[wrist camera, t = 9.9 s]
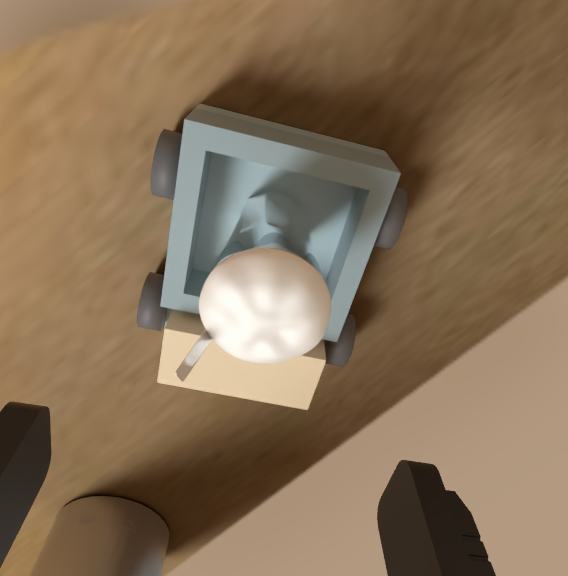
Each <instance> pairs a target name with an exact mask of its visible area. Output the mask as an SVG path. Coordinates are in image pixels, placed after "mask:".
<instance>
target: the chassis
mask: <svg viewBox="0 0 568 576" xmlns="http://www.w3.org/2000/svg"><path fill="white" fill-rule="evenodd" d="M400 175H401V173H400V171H399V170H398V168H397V167H396V166H395V164H394V163H393V161H392V160H391V159H390V157H389V156H388V154H387V153H386V152H385V151H384V150H381V149H377V148H373V147H369V146H365V145H361V144H357V143H353V142H349V141H345V140H341V139H338V138H334V137H330V136H326V135H322V134H318V133H314V132H310V131H306V130H302V129H298V128H295V127H291V126H287V125H283V124H279V123H275V122H271V121H267V120H263V119H259V118H255V117H252V116H248V115H244V114H240V113H236V112H232V111H228V110H224V109H220V108H216V107H212V106H209V105H205V104H201V103H199V105H198V106H197V107H196V108H195V109H194V110H193V111H192V112H191V113H190V114H189V115H188V116H187V117H186V118H185V119H184V126H183V134H182V133H178V132H174V131H170V130H166V129H164V130H163V131H162V132H161V134H160V137H159V139H158V142H157V146H156V149H155V154H154V159H153V165H152V172H151V191H152V194H153V195H154V196H158V197H163V198H167V199H171V200H174V203H173V211H172V219H171V227H170V234H169V242H168V250H167V258H166V265H165V273H164V275H162V274H157V273H152V272H150V273H149V274H148V276H147V278H146V280H145V283H144V286H143V289H142V293H141V297H140V301H139V306H138V313H137V326H138V327H142V328H147V329H153V330H158V331H162V330H163V328H164V325H165V330H164V337H163V344H162V352H161V359H160V366H159V373H158V380H157V383H162V384H168V385H173V386H179V387H184V388H190V389H195V390H201V391H206V392H212V393H217V394H222V395H228V396H233V397H239V398H244V399H250V400H255V401H261V402H266V403H272V404H277V405H283V406H288V407H294V408H299V409H304V410H308V408H309V405H310V402H311V400H312V397H313V394H314V392H315V389H316V386H317V384H318V381H319V378H320V376H321V373H322V370H323V368H324V365H325V363H326V364H331V365H336V366H341V367H344V366H345V365H346V364H347V362H348V360H349V358H350V356H351V353H352V350H353V346H354V341H355V333H356V321H355V317H354V315H352V314H348V312H349V309H350V307H351V304H352V301H353V299H354V296H355V293H356V291H357V288H358V285H359V283H360V280H361V278H362V275H363V272H364V270H365V267H366V264H367V262H368V259H369V256H370V254H371V251H372V249H373V246H376V247H380V248H385V249H390V248H391V247H392V246H393V245H394V244H395V242H396V241H397V239H398V237H399V235H400V233H401V230H402V228H403V225H404V221H405V217H406V213H407V206H408V195H407V191H406V190H405V189H404V188H401V187H397V186H396V185H397V183H398V180H399V177H400ZM266 190H269V191H275V192H280V193H286V194H288V195H289V196H290V197H291V198H292V199H293V200H294V201H295V202H296V203H297V204H298V205H299V206H300V207H301V208H302V210H303V213H304V216H305V220H306V223H307V227H308V230H309V234H310V237H311V241H312V244H313V248H314V251H315V254H316V257H317V260H318V263H319V265H320V268H321V271H322V274H323V276H324V279H325V282H326V285H327V288H328V290H329V294H330V297H331V315H330V319H329V323H328V326H327V329H326V332H325V334H324V336H323V338H322V339H321V341H320V342H319V343H318V344H317V345H316V346H315V347H314V348H313V349H311V350H310V351H308V352H307V353H305V354H303V355H300V356H298V357H295V358H292V359H289V360H285V361H282V362H278V363H271V364H263V363H254V362H248V361H244V360H240V359H238V358H235V357H233V356H232V355H230V354H228V353H227V352H226V351H224V350H223V349H222V348H221V347H220V346H218V345H217V344H216V343H215V341H214V340H213V339H212V340H211V342H210V343H209V345H208V346H207V348H206V349H205V351H204V352H203V354H202V355H201V357H200V358H199V360H198V361H197V363H196V364H195V365H194V367H193V368H192V370H191V371H190V373H189V374H188V376H187V377H186V379H185V380H184V381H183V382H182V381H181V380H180V379H179V377H178V376H177V375H176V370H177V369H178V367H179V366H180V365H181V363H182V362H183V360H184V359H185V358H186V356H187V355H188V353H189V352H190V350H191V349H192V348H193V346H194V345H195V343H196V342H197V341H198V339H199V338H200V336H201V335H202V334H203V332H204V331H205V327H204V325H203V323H202V320H201V317H200V313H199V298H200V294H201V291H202V288H203V286H204V283H205V281H206V279H207V278H208V276H209V274H210V272H211V270H212V268H213V266H214V264H215V263H216V261H217V259H218V257H219V255H220V253H221V252H222V250H223V248H224V247H225V245H226V243H227V241H228V239H229V237H230V234H231V232H232V230H233V228H234V225H235V223H236V221H237V219H238V217H239V215H240V213H241V211H242V209H243V207H244V205H245V203H246V201H247V199H249V198H251V197H253V196H255V195H257V194H259V193H262V192H264V191H266ZM165 322H166V323H165Z"/></svg>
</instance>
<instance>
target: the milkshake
mask: <svg viewBox="0 0 568 576" xmlns="http://www.w3.org/2000/svg"><path fill="white" fill-rule="evenodd" d="M199 313H200V317H201V320H202V323H203V325H204V327H205V331H204V332H203V334H202V335H201V336H200V338H199V339H198V341H197V342H196V343H195V345H194V346H193V348H192V349H191V350H190V352H189V353H188V355H187V356H186V358H185V359H184V360H183V362H182V363H181V365H180V366H179V367H178V369H177V370H176V375H177V376H178V377H179V379H180V380H181V381H182V382H183V381H184V380H185V379H186V377H187V376H188V374H189V373H190V371H191V370H192V368H193V367H194V365H195V364H196V363H197V361H198V360H199V358H200V357H201V355H202V354H203V352H204V351H205V349H206V348H207V346H208V345H209V343H210V342H211V340H212V339H213V340H214V341H215V343H216V344H217V345H218V346H220V347H221V348H222V349H223V350H224V351H226V352H227V353H228V354H230V355H232V356H233V357H235V358H238V359H240V360H244V361H248V362H254V363H263V364H271V363H278V362H282V361H285V360H289V359H292V358H295V357H298V356H300V355H303V354H305V353H307V352H308V351H310V350H311V349H313V348H314V347H315V346H316V345H317V344H318V343H319V342H320V341H321V339H322V338H323V336H324V334H325V332H326V329H327V326H328V323H329V319H330V315H331V297H330V294H329V290H328V288H327V285H326V282H325V279H324V276H323V274H322V271H321V268H320V265H319V263H318V260H317V257H316V254H315V251H314V248H313V244H312V241H311V237H310V234H309V230H308V227H307V223H306V220H305V216H304V213H303V210H302V208H301V207H300V206H299V205H298V204H297V203H296V202H295V201H294V200H293V199H292V198H291V197H290V196H289V195H288V194H286V193H280V192H275V191H269V190H266V191H264V192H262V193H259V194H257V195H255V196H253V197H251V198H249V199H247V201H246V203H245V205H244V207H243V209H242V211H241V213H240V215H239V217H238V219H237V221H236V223H235V225H234V228H233V230H232V232H231V234H230V237H229V239H228V241H227V243H226V245H225V247H224V248H223V250H222V252H221V253H220V255H219V257H218V259H217V261H216V263H215V264H214V266H213V268H212V270H211V272H210V274H209V276H208V278H207V279H206V281H205V283H204V286H203V288H202V291H201V294H200V298H199Z"/></svg>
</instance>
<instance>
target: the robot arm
mask: <svg viewBox="0 0 568 576" xmlns="http://www.w3.org/2000/svg"><path fill="white" fill-rule="evenodd" d="M50 460H51V432H50V411H49V408H48V407H46V406H39V405H32V404H25V403H18V402H9V403H8V404H6V405H5V407H4V408H3V409H2V411H1V412H0V568H1V566H2V564H3V562H4V560H5V558H6V556H7V554H8V552H9V550H10V548H11V546H12V544H13V542H14V540H15V538H16V536H17V534H18V532H19V530H20V528H21V526H22V524H23V522H24V520H25V518H26V516H27V514H28V512H29V510H30V508H31V506H32V504H33V502H34V500H35V498H36V496H37V494H38V492H39V490H40V488H41V486H42V484H43V482H44V480H45V478H46V475H47V472H48V469H49V465H50ZM377 520H378V528H379V533H380V539H381V544H382V548H383V554H384V559H385V564H386V569H387V574H388V576H496V575H495V572H494V570H493V567H492V565H491V562H489V561H488V555H487V552H486V549H485V547H484V544H483V542H481V541H480V534H479V532H478V529H477V527H476V524H475V522H474V519H473V517H472V514H471V512H470V511H469V510H468V508H467V507H466V506H465V504H464V503H463V502H462V500H461V499H460V498H459V496H458V495H457V494H456V492H455V491H447V490H445V487H444V485H443V482H442V479H441V476H440V474H439V471H438V469H437V467H435V465H433V464H427V463H421V462H414V461H407V460H401V461H400V462H399V464H398V465H397V467H396V469H395V471H394V473H393V475H392V477H391V479H390V481H389V483H388V485H387V487H386V489H385V491H384V492H383V494H382V496H381V499H380V502H379V505H378V513H377ZM169 537H170V535H169V529H168V527H167V525H166V523H165V522H164V521H163V520H162V518H161V517H160V516H159V515H158V514H156V513H155V512H154V511H152V510H151V509H149V508H147V507H145V506H143V505H142V504H139V503H136V502H134V501H131V500H127V499H123V498H118V497H109V496H93V497H87V498H81V499H78V500H76V501H73V502H71V503H69V504H68V505H66V506H65V507H63V508H62V509H61V511H60V512H59V513H58V515H57V517H56V519H55V522H54V524H53V526H52V528H51V530H50V532H49V535H48V537H47V539H46V541H45V543H44V546H43V548H42V550H41V552H40V554H39V556H38V559H37V561H36V563H35V565H34V567H33V569H32V571H31V573H30V575H29V576H161V574H162V569H163V565H164V560H165V555H166V551H167V546H168V542H169Z"/></svg>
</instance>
